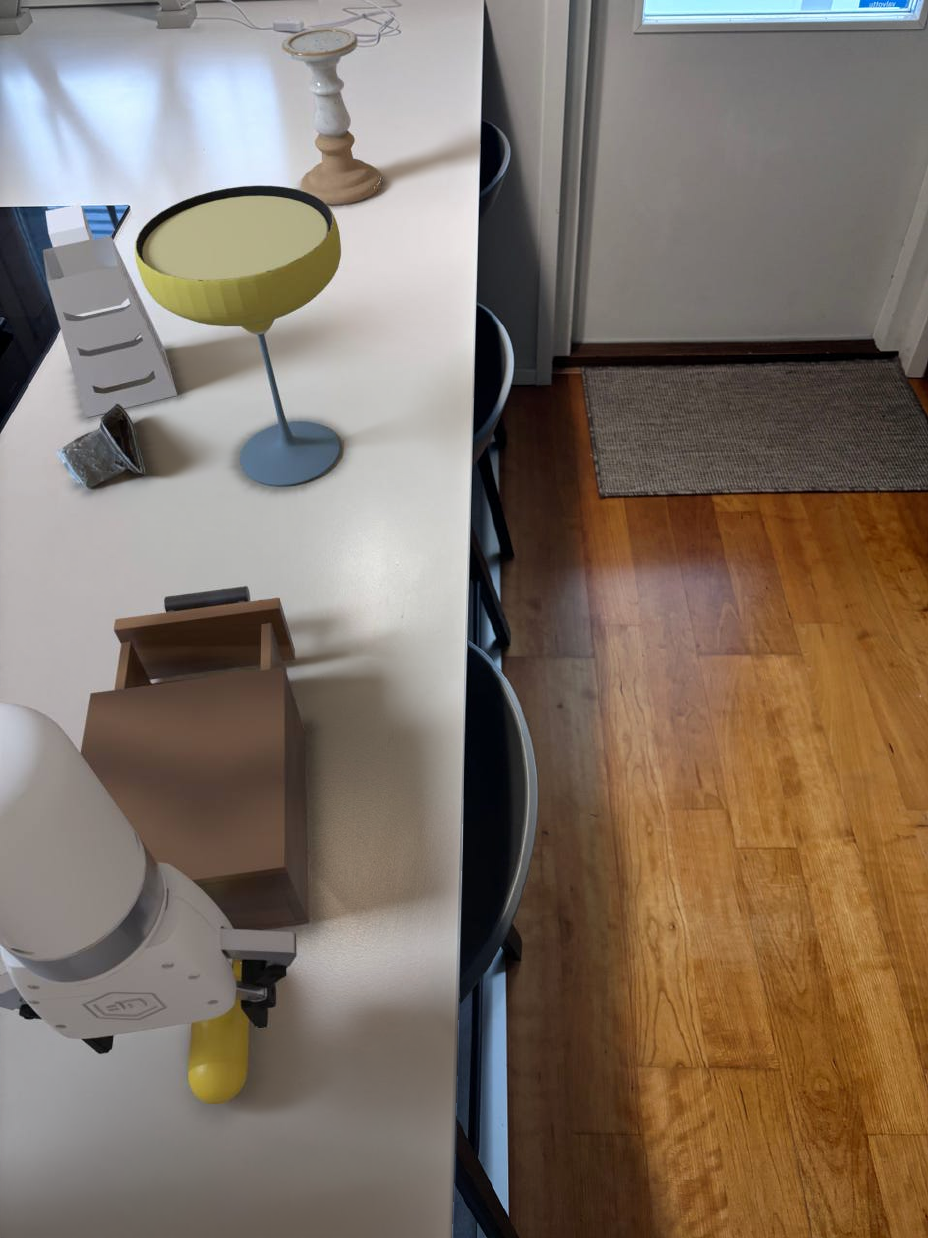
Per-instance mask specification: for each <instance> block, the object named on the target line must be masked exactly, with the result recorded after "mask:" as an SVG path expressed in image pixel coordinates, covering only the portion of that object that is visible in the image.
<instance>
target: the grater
mask: <svg viewBox="0 0 928 1238" xmlns="http://www.w3.org/2000/svg"><path fill="white" fill-rule="evenodd" d="M45 217H46V219H45V220H46V225H47V233H48V236H49V237H48V238H49V240H50V243H51V246H52V247H49V248H45V249H42V255H43V262H44V271H45V277H46V283H47V286H48V290H49V294H50V297H51V300H52V301H51V302H52V305H53V307H54V312H55V314H56V318H57V321H58V326H59V328H60V332H61V335H62V338H63V341H64V346H65V349H66V352H67V356H68V360H69V363H70V366H71V370H72V373H73V376H74V379H75V383H76V387H77V391H78V393H79V398H80V401H81V404H82V408H83V412H84V414H85V415H84V416H85V418H86V419H87V418H92V417H96V416H99V415H103V414H104V415H105V413H106V412H108V411H109V410H111V409H112V408H113V407H114V406H115V404H117V403H118V404H120V405H121V406H122V407H123V408H124V409H127V408H131V407H132V408H133V407H135V406H139V405H143V404H147V403H152V402H156V401H160V400H164V399H168V398H172V397H176V396H178V393H177V389H176V386H175V382H174V378H173V375H172V371H171V367H170V364H169V360H168V356H167V352H166V349H165V346H164V344H163V342H162V340H161V338H160V336H159V334H158V331H157V329H156V328H155V325H154V324H153V322H152V319H151V317H150V315H149V313H148V311H147V308H146V306H145V305H144V302H143V300H142V298H141V295H140V294H139V292H138V290H137V288H136V286H135V284H134V281H133V279H132V277H131V275H130V272H129V271H128V269H127V267H126V264H125V262H124V259H123V258H122V256H121V254H120V252H119V249H118V247H117V245H116V243H115V241H114V239H113V237H112V235H106V236H100V237H97V238H94V235H93V232H92V229H91V227H90V224H89V221H88V219H87V216H86V213H85V210H84V207H83V206H82V204H81V203H79V204H74V205H69V206H63V207H59V208H54V209H48V210H45ZM127 300H128V301H129V304H128V305H126V306H123V307H119V308H114V307H118V306H122V304H123V303H125V301H127ZM109 308H114V309H110V310H105V311H101V312H97V313H92V314H88V315H84V314H87V313H91V312H96V311H100V310H104V309H109ZM82 314H83V315H82ZM152 372H153V374H154V377H155V378H154V379H152V380H151V381H149V382H148V383H144V384H139V385H135V386H131V387H128V388H123V389H119V390H118V389H117V390H114V391H111V392H107V393H101V392H100V393H99V392H95V389H94V387H95V388H96V387H97V388H100V389H106V388H109V387H114V386H118V385H123V384H126V383H130V382H135V381H139V380H143V379H146V378H148V377H149V376H150V375H151V373H152Z"/></svg>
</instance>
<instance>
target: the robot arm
mask: <svg viewBox="0 0 928 1238" xmlns="http://www.w3.org/2000/svg"><path fill="white" fill-rule="evenodd" d="M297 937H298V936H297V933H296V932H294V931H287V930H286V931H284V930H244V929H233V927H232V925H231V924H230V922H229V920H228V919H227V918H226V916H225V915H224V914H223V912H222V911H221V910H220V908H219V907H218V906H217V905H216V904H215V903H214V901H213V900H212V899H211V898H210V897H209V896H208V895H207V894H206V893H205V892H204V891H203V890H202V889H201V888H200V887H199V886H198V885H196V884H195V883H194V882H193V881H192V880H191V879H189V878H188V877H187V876H186V875H184V874H183V873H182V872H180V871H179V870H177V869H176V868H174V867H173V866H171V865H170V864H168V863H161V862H157V861H156V860H155V858H154V857H153V855H152V854H151V853H150V851H149V850H148V848H147V847H146V845H145V844H144V843H143V841H142V840H141V838H140V837H139V836H138V834H137V833H136V831H135V830H134V829H133V827H132V826H131V824H130V823H129V822H128V820H127V819H126V817H125V816H124V814H123V813H122V812H121V810H120V809H119V807H118V806H117V805H116V803H115V802H114V800H113V799H112V798H111V796H110V795H109V793H108V792H107V790H106V789H105V788H104V786H103V785H102V783H101V782H100V780H99V779H98V778H97V776H96V775H95V773H94V772H93V770H92V769H91V768H90V766H89V765H88V763H87V762H86V760H85V759H84V758H83V756H82V755H81V751H79V749H78V748H77V746H76V744H75V743H74V742H73V740H72V739H71V738H70V736H69V735H68V734H67V733H66V732H65V730H64V729H63V728H62V727H61V726H60V725H59V724H58V723H57V722H56V721H55V720H53V719H52V718H51V717H50V716H48V715H46V714H45V713H43V712H41V711H39V710H37V709H35V708H33V707H29V706H26V705H23V704H17V703H6V702H0V956H1V958H2V961H3V964H4V967H5V968H6V972H4V973H1V974H0V1008H3V1009H7V1010H9V1011H14V1010H18V1015H19V1016H20V1017H21V1018H23V1019H24V1020H35V1019H36V1020H43V1021H44V1022H45V1023H46V1024H47V1025H48V1026H49V1027H50V1028H52V1030H54V1031H55V1032H57V1033H58V1034H60V1035H62V1036H63V1037H66V1038H67V1039H72V1040H73V1039H74V1040H75V1039H77V1040H81V1041H83V1042H84V1043H85V1044H86V1045H87V1046H89V1047H90V1048H91V1049H92V1050H93V1051H94V1052H95V1053H97V1054H98V1055H102V1054H108V1053H109V1052H110V1051H111V1050H113V1045H114V1037H115V1036H117V1035H125V1034H131V1033H139V1032H144V1031H150V1030H156V1029H163V1028H168V1027H174V1026H175V1027H176V1026H181V1025H186V1024H187V1025H188V1024H191V1023H193V1022H198V1021H204V1020H208V1019H212V1018H216V1017H218V1016H221V1015H223V1014H225V1013H226V1012H228V1011H229V1010H230V1009H231V1008H232V1007H233V1006H234V1004H235V999H240V1000H241V1009H242V1010H243V1011H244V1013H245V1014H246V1015H247V1017H248V1018H249V1022H251V1023H252V1024H253V1027H255V1028H257V1029H259V1030H260V1029H266V1028H268V1027H269V1009H270V1008H271V1009H272V1008H275V1007H276V1006H277V987H276V986H277V985H276V983H278V982H279V981H281V980H282V979H284V978H285V977H286V976H287V975H288V972H287V969H288V968H289V967H291V965H292V963H293V962H294V961H295V959H296V957H297V955H298V952H297V951H298V948H297V947H298V944H297V942H298V941H297V939H298V938H297ZM233 961H237V962H240V963H241V964H242V970H241V981H237V980H235V976H234V972H233Z"/></svg>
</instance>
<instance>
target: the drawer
mask: <svg viewBox="0 0 928 1238" xmlns="http://www.w3.org/2000/svg"><path fill="white" fill-rule="evenodd" d="M163 603H164V604H163V605H164V606H163V607H164V611H165V612H159V613H152V614H143V615H137V616H130V617H122V618H121V617H120V618H116V619H114V625H113V632H114V634H115V635H116V638H117V640H118V641H119V643H120V649H119V656H118V662H117V669H116V677H115V683H114V689H113V690H119V689H126V688H133V687H141V686H148V685H155V684H163V683H170V682H178V681H185V680H192V679H200V678H207V677H215V676H222V675H229V674H237V673H244V672H251V671H259V670H266V669H274V668H281V667H285V670H286V673H287V672H288V671H287V668H286V665H285V662H292V661H296V648H295V645H294V641H293V637H292V635H291V632H290V628H289V625H288V621H287V619H286V615H285V611H284V608H283V604H282V601H281V598H280V597H273V598H265V599H258V600H251V592H250V589H249V587H248V586H247V585H244V586H236V587H228V588H222V589H213V590H206V591H198V592H192V593H183V594H177V595H168V596H165V597H164V599H163ZM256 666H260V668H256V669H249V670H241V671H234V672H227V673H220V674H212V675H204V676H197V677H190V678H182V679H174V680H167V681H161V682H160V681H159V682H153V683H152V681H151V680H160V679H168V678H175V677H182V676H189V675H197V674H204V673H211V672H218V671H225V670H234V669H241V668H249V667H256ZM287 674H288V673H287Z"/></svg>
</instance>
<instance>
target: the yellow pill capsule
mask: <svg viewBox="0 0 928 1238" xmlns="http://www.w3.org/2000/svg"><path fill="white" fill-rule="evenodd" d="M241 970H242V962H237V961H233V972H234V976H235V980H237V981H241ZM249 1028H250V1019H249V1018H248V1017H247V1015H246V1014H245V1013H244V1011H243V1010H242V1009H241V1000H240V999H235V1004H234V1006H233V1007H232V1008H231V1009H230V1010H229V1011H228V1012H226V1013H225V1014H223V1015H221V1016H218V1017H216V1018H212V1019H208V1020H204V1021H198V1022H193V1023H190V1036H189V1037H190V1039H189V1052H188V1053H189V1055H188V1071H187V1079H188V1080H187V1081H188V1085H189V1088H190V1089H191V1091H192V1093H193V1094H194V1096H195V1097H196V1098H197V1099H199V1101H201V1102H203V1103H205V1104H208V1105H221V1104H225V1103H228V1102H229V1101H231V1100H233V1099H234V1098H235V1097H236V1096H237V1095H238V1094H239V1093H240V1092H241V1091H242V1089H243V1088H244V1086H245V1083H246V1080H247V1077H248V1072H249V1037H250V1036H249V1031H250V1029H249Z"/></svg>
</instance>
